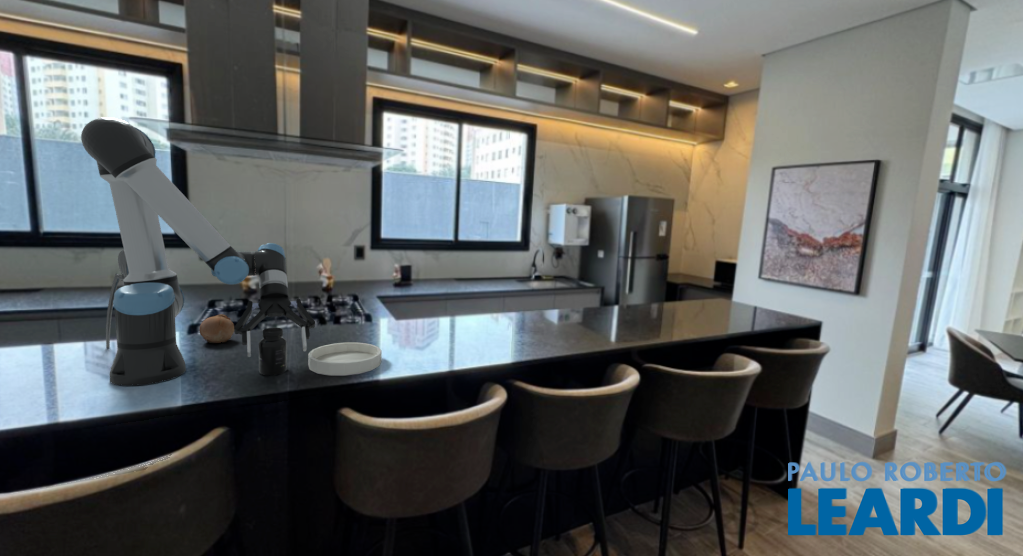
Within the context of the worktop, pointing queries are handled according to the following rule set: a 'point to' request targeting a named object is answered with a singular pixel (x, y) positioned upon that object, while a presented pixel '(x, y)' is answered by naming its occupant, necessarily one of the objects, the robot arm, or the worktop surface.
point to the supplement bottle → (272, 352)
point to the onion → (217, 329)
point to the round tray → (344, 358)
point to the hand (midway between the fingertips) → (277, 351)
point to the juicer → (124, 272)
